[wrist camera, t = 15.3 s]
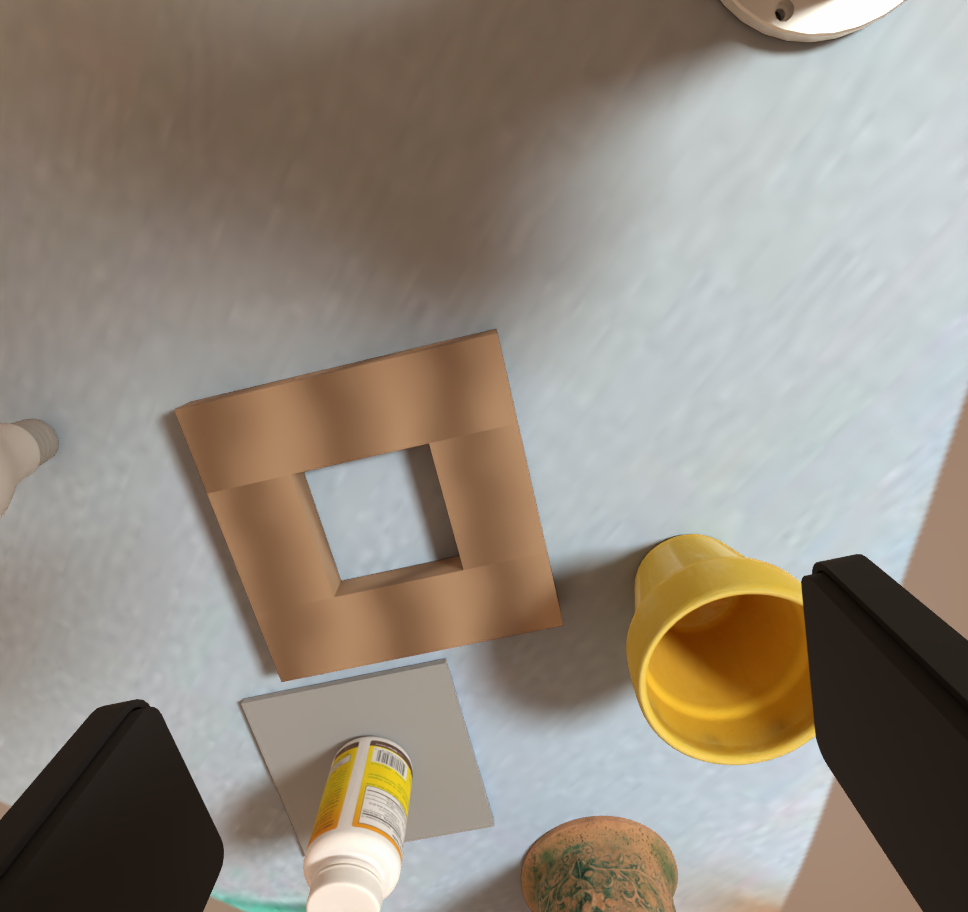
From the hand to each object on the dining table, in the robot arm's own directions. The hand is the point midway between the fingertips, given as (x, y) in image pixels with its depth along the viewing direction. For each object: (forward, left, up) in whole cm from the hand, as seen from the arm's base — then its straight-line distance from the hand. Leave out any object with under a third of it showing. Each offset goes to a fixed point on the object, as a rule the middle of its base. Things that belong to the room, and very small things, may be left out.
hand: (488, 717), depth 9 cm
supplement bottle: (+14, +25, -28) cm, 40 cm away
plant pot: (-9, +16, -28) cm, 34 cm away
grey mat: (+14, +25, -28) cm, 40 cm away
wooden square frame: (+8, +7, -28) cm, 30 cm away
